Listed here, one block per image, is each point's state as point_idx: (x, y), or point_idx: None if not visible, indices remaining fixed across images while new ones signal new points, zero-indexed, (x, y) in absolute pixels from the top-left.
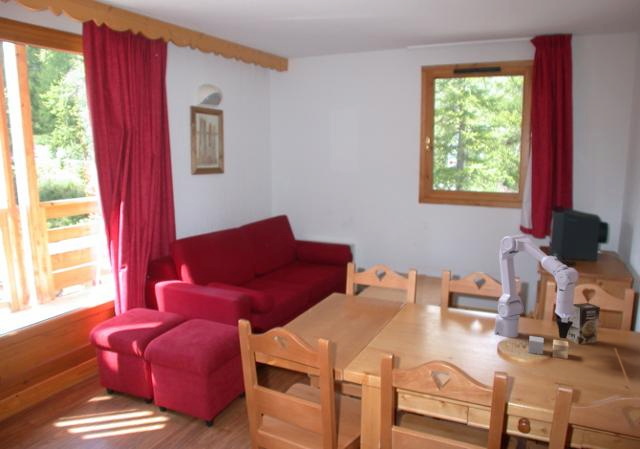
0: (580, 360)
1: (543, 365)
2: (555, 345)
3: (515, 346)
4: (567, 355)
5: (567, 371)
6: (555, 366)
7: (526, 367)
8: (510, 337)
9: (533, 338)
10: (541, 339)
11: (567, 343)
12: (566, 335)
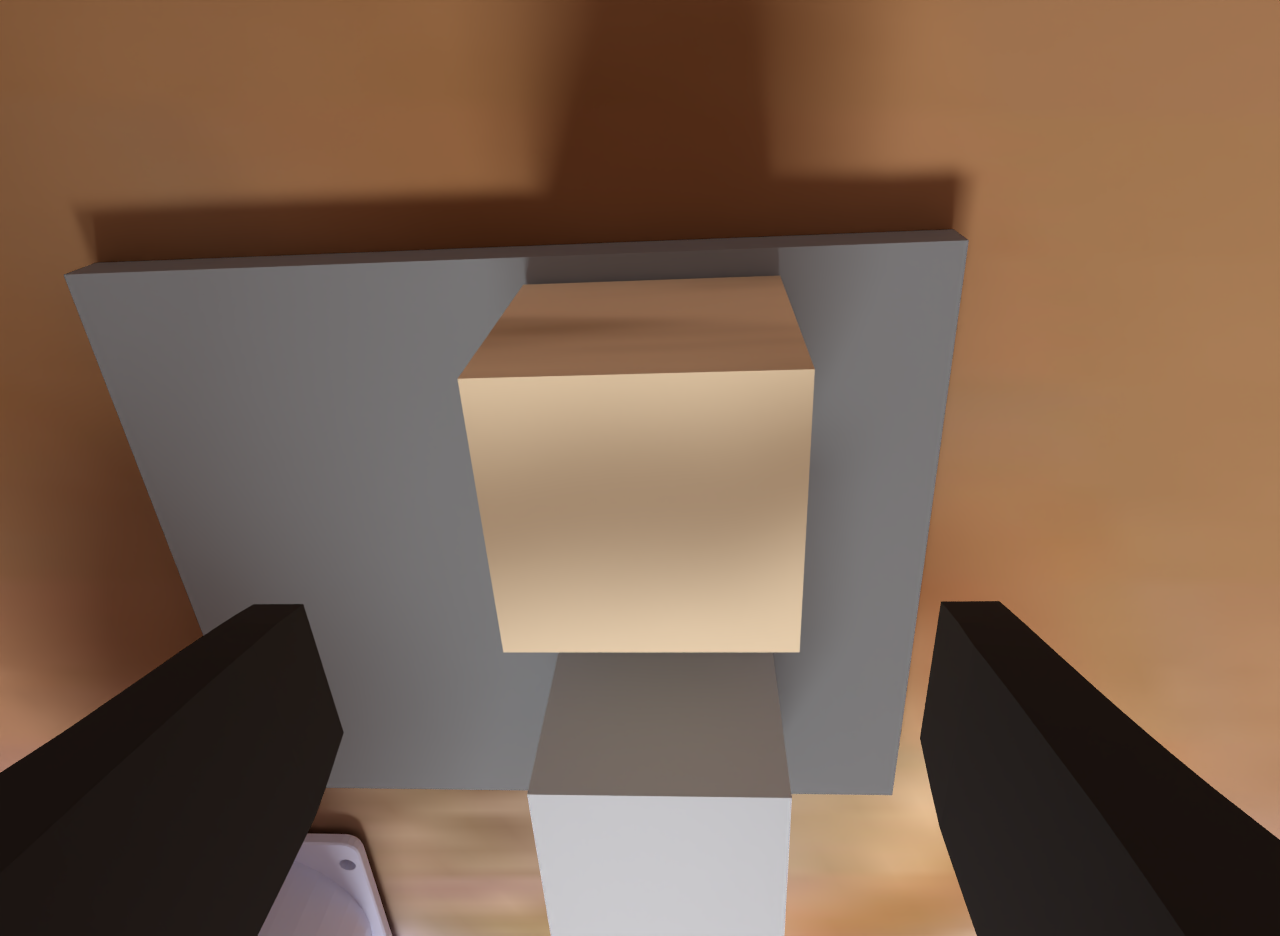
0: (583, 7)
1: (1048, 583)
2: (795, 607)
3: (534, 847)
4: (789, 301)
5: (1208, 260)
6: (1038, 436)
7: (1174, 752)
8: (354, 923)
9: (651, 914)
10: (631, 821)
11: (598, 388)
12: (1082, 682)
